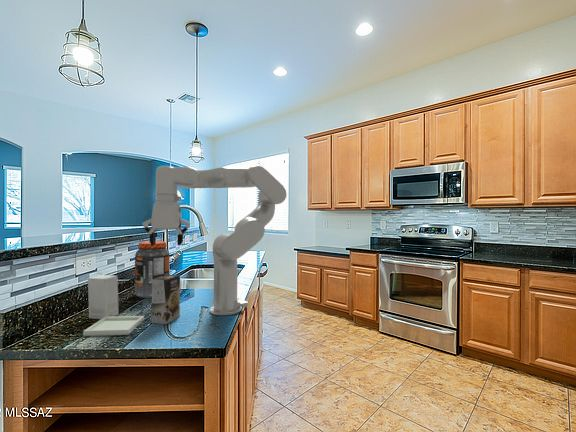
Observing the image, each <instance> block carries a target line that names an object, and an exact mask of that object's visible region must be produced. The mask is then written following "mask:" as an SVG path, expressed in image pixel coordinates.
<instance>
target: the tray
mask: <svg viewBox="0 0 576 432" xmlns="http://www.w3.org/2000/svg"><path fill="white" fill-rule="evenodd" d="M144 321H145V315H124V316H123V315H122V316H118V315H117V316H114V317H104V318H102V319H98V321H96V322H95V323H92V325H91V326H89V327H87V328H86V329H84V330H83V332H82V333H83V334H82V335H83V336H84V337H90V336H92V337H93V336H95V337H96V336H123V335H124V336H128V335H130V334H131V333H132V332H133V331H134V330H135V329H136V328H137V327H138V326H139V325H141V324H142V323H143V322H144Z"/></svg>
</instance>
